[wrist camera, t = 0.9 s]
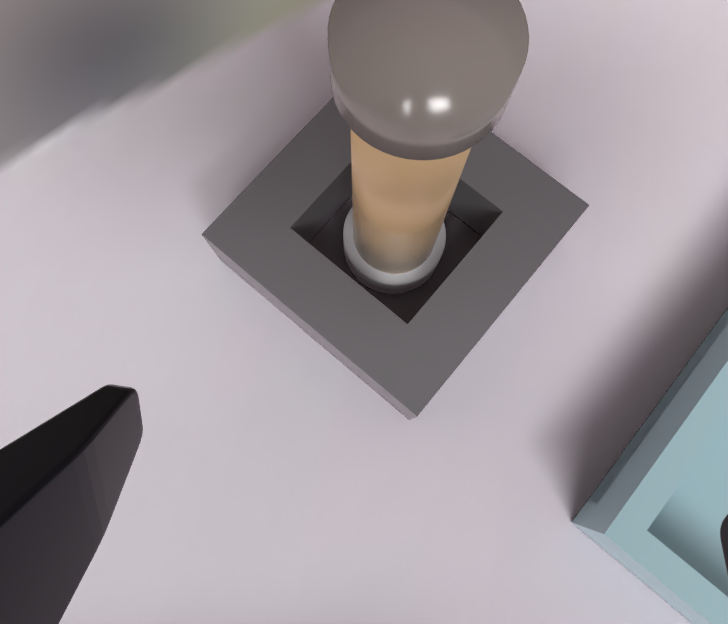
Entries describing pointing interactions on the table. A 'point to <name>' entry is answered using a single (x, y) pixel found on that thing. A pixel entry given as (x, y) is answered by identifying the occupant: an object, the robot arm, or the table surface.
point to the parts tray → (674, 491)
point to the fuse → (416, 119)
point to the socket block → (355, 304)
